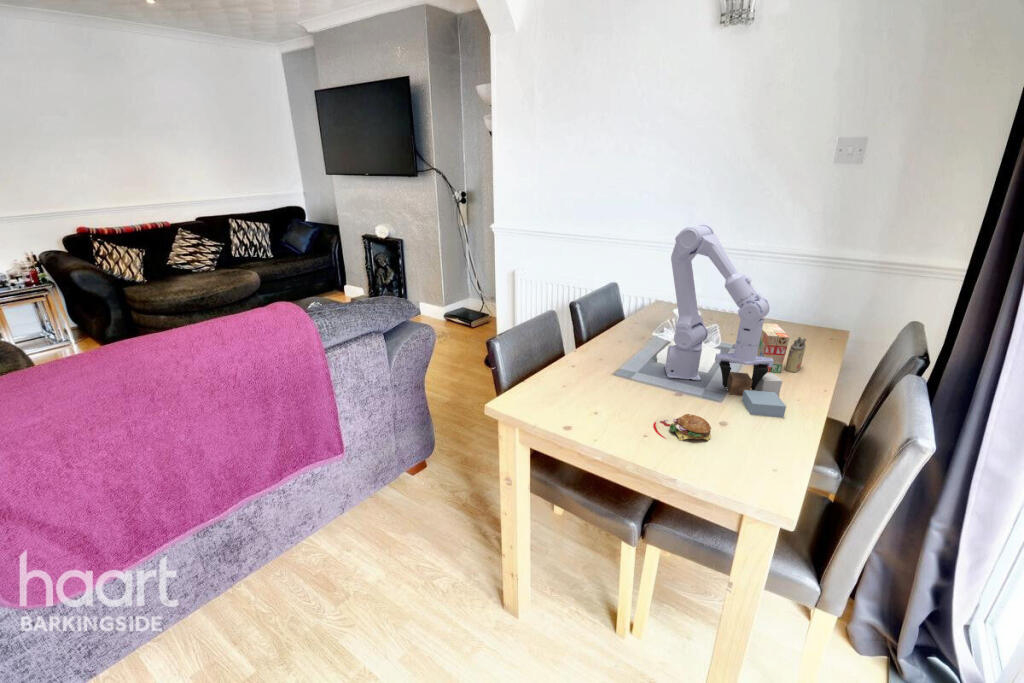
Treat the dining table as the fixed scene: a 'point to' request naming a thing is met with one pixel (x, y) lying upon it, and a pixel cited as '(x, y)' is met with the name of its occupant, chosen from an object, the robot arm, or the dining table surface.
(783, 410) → the base block
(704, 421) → the hamburger
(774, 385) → the grey cube
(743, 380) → the walnut cube
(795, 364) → the lighter
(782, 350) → the stack of blocks
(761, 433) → the dining table surface
